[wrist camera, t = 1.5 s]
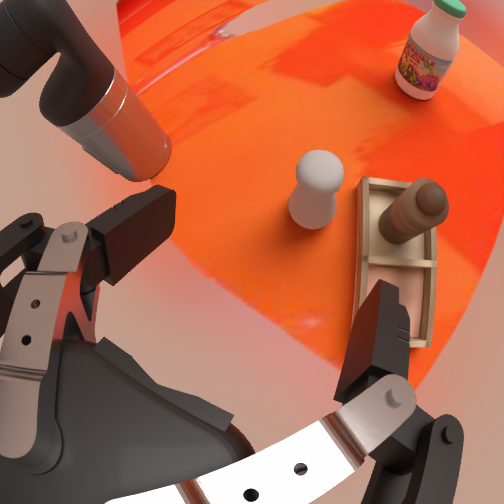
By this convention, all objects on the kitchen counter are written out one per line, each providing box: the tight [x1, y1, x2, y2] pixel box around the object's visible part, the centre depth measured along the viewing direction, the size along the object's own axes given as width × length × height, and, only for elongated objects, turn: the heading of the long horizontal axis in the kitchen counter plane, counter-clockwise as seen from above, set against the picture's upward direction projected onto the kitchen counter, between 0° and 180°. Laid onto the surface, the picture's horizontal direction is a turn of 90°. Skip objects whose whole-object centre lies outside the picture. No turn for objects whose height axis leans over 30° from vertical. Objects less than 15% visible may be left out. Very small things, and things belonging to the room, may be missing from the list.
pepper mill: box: [378, 178, 449, 245], centre depth 27 cm, size 5×5×12 cm
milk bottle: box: [395, 0, 466, 100], centre depth 27 cm, size 8×8×20 cm
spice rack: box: [350, 177, 437, 347], centre depth 32 cm, size 10×20×3 cm, turn 174°
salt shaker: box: [288, 149, 344, 230], centre depth 30 cm, size 6×6×13 cm
